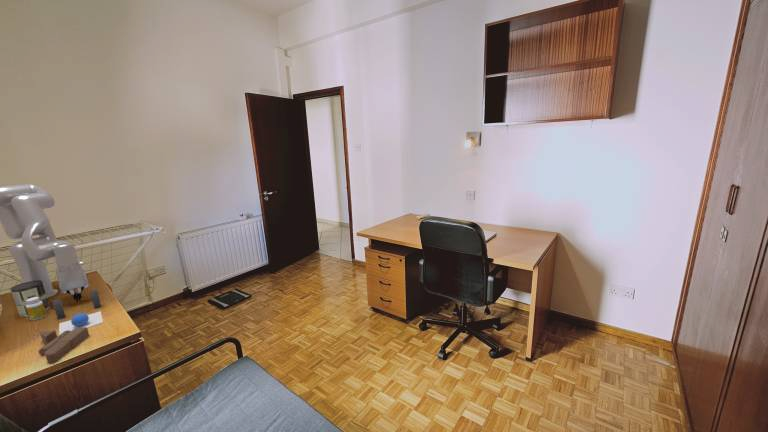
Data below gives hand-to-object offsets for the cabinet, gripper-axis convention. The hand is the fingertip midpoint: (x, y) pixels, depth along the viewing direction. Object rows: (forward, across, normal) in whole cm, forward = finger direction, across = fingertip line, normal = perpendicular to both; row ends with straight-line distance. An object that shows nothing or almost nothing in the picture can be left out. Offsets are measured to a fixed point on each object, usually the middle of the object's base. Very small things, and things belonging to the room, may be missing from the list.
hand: (78, 300), depth 157 cm
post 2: (+2, -6, +13) cm, 15 cm away
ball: (-1, 0, +29) cm, 29 cm away
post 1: (+2, +6, +13) cm, 15 cm away
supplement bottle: (+2, +14, +4) cm, 15 cm away
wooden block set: (+2, +9, +44) cm, 45 cm away
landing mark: (+2, 0, +27) cm, 27 cm away
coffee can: (+2, +16, -6) cm, 17 cm away
